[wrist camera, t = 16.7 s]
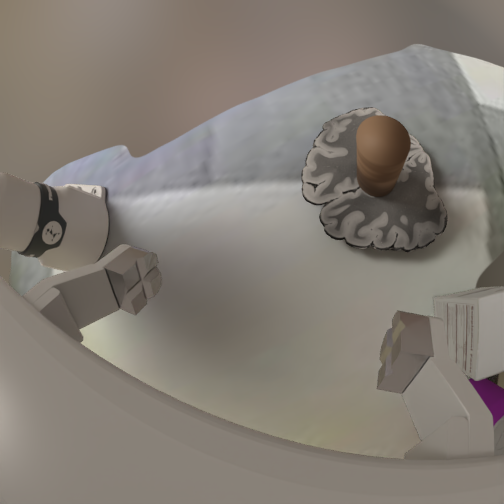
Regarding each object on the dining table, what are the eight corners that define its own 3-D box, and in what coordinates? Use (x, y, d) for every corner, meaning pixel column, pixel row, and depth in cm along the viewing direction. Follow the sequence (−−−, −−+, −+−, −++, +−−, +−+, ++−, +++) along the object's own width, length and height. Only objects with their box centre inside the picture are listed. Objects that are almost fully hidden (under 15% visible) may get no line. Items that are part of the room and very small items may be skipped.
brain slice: (279, 158, 36) (274, 148, 34) (379, 109, 33) (380, 96, 30) (351, 289, 31) (352, 289, 28) (459, 224, 28) (467, 219, 25)
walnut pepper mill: (352, 190, 30) (351, 156, 21) (360, 154, 30) (360, 110, 20) (392, 201, 28) (407, 171, 19) (398, 164, 28) (412, 123, 19)
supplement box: (478, 286, 26) (534, 281, 14) (479, 343, 24) (532, 362, 12) (431, 295, 28) (478, 296, 16) (432, 354, 27) (475, 384, 15)
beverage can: (453, 375, 25) (495, 406, 14) (495, 373, 23) (541, 398, 11) (436, 427, 24) (465, 472, 13) (478, 423, 22) (514, 460, 10)
